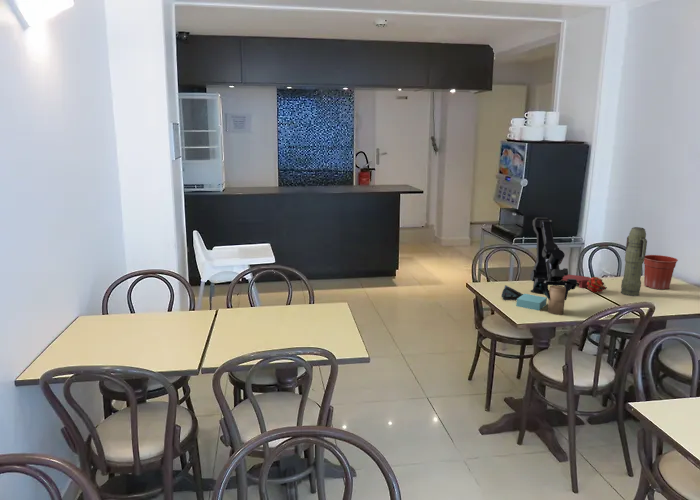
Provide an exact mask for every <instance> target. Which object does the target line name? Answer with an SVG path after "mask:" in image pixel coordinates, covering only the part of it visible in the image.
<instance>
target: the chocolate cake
mask: <svg viewBox="0 0 700 500" xmlns="http://www.w3.org/2000/svg"><path fill="white" fill-rule="evenodd" d="M523 294H524V293H522V292H521V291H518V290H515V289H514V288H512V287H510V286H508V285H504V288H503V290H502V292H501V298H502V300H503V301H517V298H519V297H520V296H522V295H523Z"/></svg>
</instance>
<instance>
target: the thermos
mask: <svg viewBox="0 0 700 500" xmlns="http://www.w3.org/2000/svg"><path fill="white" fill-rule="evenodd" d="M646 232H647V231H646V229H645V228H643V227H638V226H633V227H632V228H631V229H630V231H629V233H628V236H627V237H626V242H625V243H626V244H625V252H624V253H625V255H624V256H625V257H624V261H625V262H624V263H625V264H624V270H623V271H624V272H623V278H622V279H621V287H620V289H621V290H620V294H622V295H624V296H629V297H638V296H640V291H641V289H642V288H641V286H642V280H641V277H642V269H643V264H644V258H645V255H647V254H646V253H647V247H648V246H647V244H648V240H647V238H646V237H647V233H646Z"/></svg>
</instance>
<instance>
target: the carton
mask: <svg viewBox="0 0 700 500" xmlns="http://www.w3.org/2000/svg"><path fill="white" fill-rule="evenodd" d="M590 278H591V277H589V276H585V275H584V276H583V275H575V274H569V273H568V275H567V276H564V277H563V280H562V281H565V282H566V281H567V280H568V279H576V280H577V283H578V288H579V289H588V285H586V284H587V282H588V281H589V279H590Z"/></svg>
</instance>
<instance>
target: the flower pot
mask: <svg viewBox="0 0 700 500" xmlns="http://www.w3.org/2000/svg"><path fill="white" fill-rule="evenodd" d="M678 261H679V259H677V258H675V257H672V256H667V255H661V254H645V258H644V262H643V264H644V274H643V275H644V276H643V278H644V283H643V284H644V286H645V287H646V288H647V287H649V288H650V289H654V290H669V289H670V287H671V283H672V279H673V274H674V271H675V268H676V265H677V262H678Z"/></svg>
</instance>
